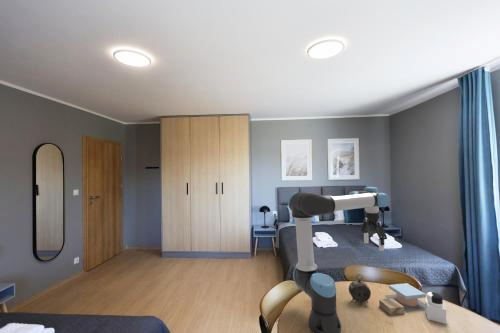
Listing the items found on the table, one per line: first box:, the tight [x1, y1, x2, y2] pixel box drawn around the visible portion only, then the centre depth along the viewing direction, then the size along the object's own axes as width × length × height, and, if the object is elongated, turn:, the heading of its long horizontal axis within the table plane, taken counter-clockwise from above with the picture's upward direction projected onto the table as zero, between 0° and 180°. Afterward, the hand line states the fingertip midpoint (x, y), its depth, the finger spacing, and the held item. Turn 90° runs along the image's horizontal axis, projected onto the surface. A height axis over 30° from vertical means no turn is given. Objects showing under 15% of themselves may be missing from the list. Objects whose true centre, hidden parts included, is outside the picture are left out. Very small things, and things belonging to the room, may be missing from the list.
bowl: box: [395, 292, 419, 307], centre depth 124 cm, size 10×10×5 cm
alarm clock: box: [348, 273, 372, 306], centre depth 125 cm, size 11×5×16 cm, turn 83°
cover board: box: [388, 282, 427, 299], centre depth 124 cm, size 12×12×2 cm
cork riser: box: [378, 298, 405, 316], centre depth 117 cm, size 8×8×4 cm
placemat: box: [384, 293, 426, 313], centre depth 124 cm, size 16×16×1 cm
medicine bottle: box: [424, 291, 448, 325], centre depth 110 cm, size 7×7×12 cm
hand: (373, 246), depth 134 cm, fingers open, 13 cm apart
